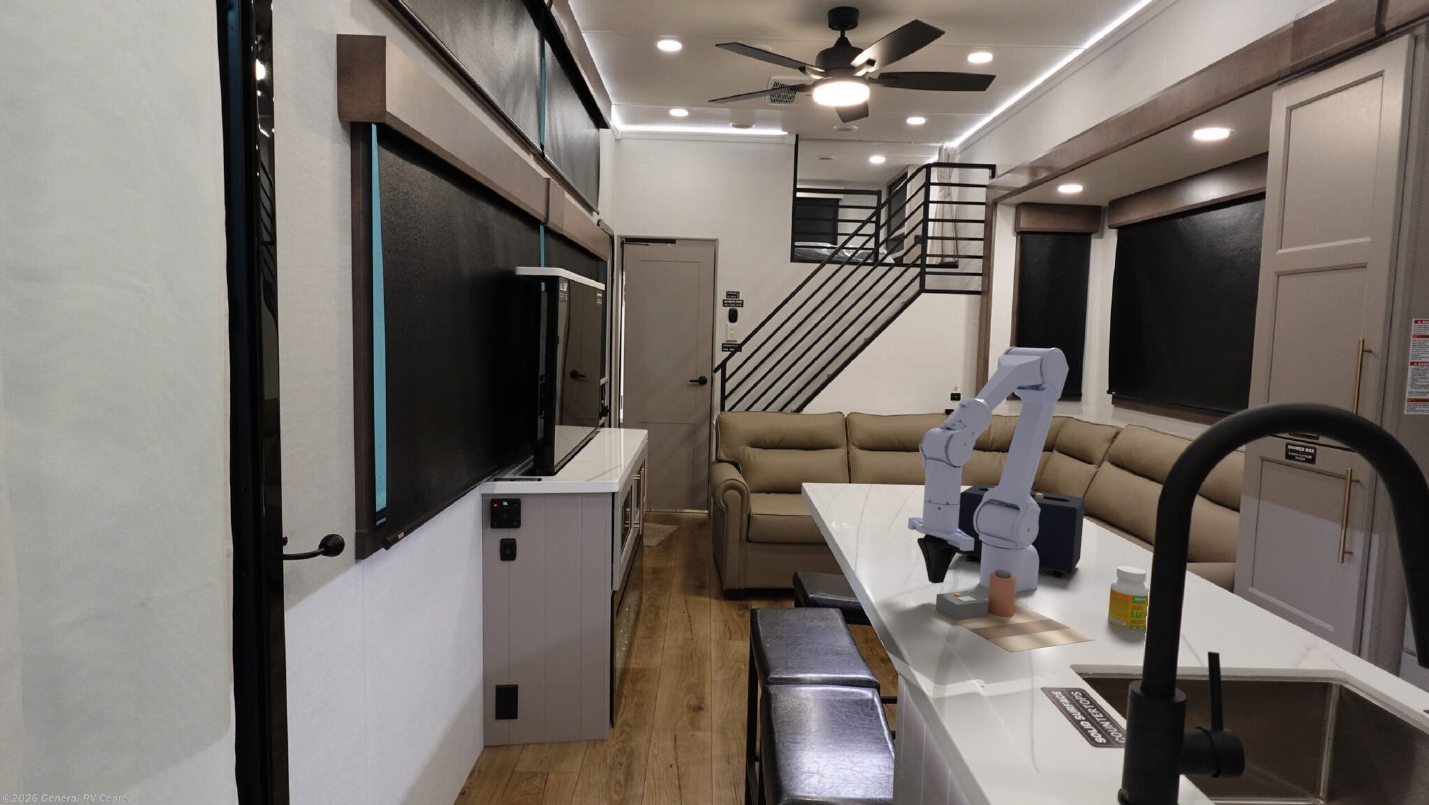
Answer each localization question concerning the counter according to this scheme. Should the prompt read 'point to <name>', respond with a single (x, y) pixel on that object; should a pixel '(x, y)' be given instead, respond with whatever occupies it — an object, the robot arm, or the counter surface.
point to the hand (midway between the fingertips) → (936, 581)
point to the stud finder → (961, 605)
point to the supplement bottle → (1129, 598)
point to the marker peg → (1002, 593)
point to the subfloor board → (1021, 630)
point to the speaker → (1055, 531)
